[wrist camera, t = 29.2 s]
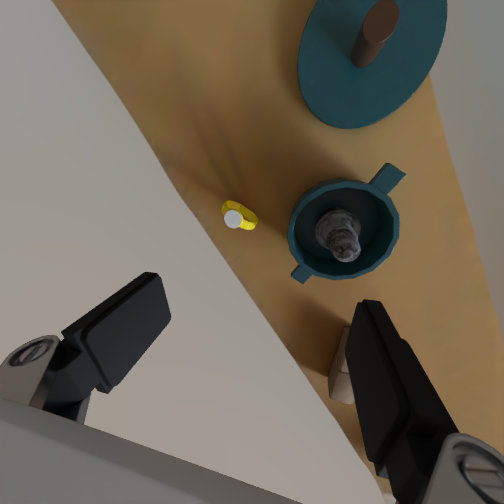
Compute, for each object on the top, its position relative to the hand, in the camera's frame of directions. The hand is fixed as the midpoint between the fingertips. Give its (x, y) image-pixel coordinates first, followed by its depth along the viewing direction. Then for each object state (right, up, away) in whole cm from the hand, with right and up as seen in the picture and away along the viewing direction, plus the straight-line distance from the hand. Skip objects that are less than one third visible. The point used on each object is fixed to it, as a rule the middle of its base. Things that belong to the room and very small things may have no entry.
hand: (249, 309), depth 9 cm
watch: (-1, +10, +24) cm, 26 cm away
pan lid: (+13, +25, +13) cm, 31 cm away
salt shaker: (+13, +7, +21) cm, 26 cm away
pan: (+13, +7, +21) cm, 26 cm away
